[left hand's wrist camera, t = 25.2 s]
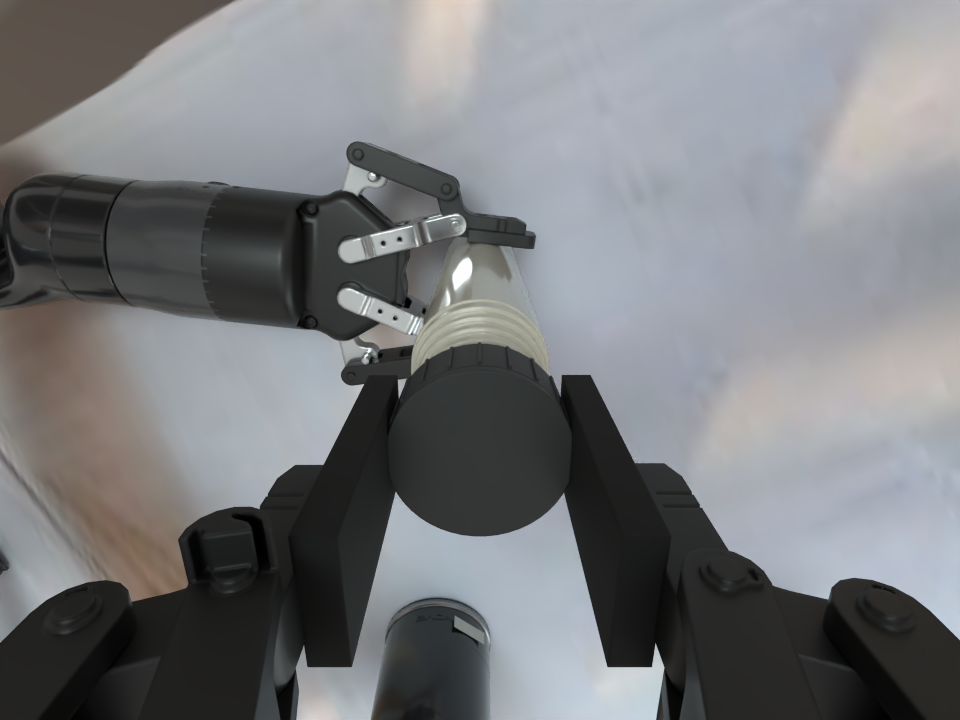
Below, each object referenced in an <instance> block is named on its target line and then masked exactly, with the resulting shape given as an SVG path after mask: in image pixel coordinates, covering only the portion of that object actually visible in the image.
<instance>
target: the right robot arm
mask: <svg viewBox="0 0 960 720" xmlns="http://www.w3.org/2000/svg"><path fill="white" fill-rule="evenodd" d="M347 158H348V160H349V165H348V169H347V172H346V176H345V180H344V183H343V187H342V190H339V191H335V192H333V193H331V194H329V195H324V196H318V195H308V194H299V193H291V192H282V191H273V190H264V189H255V188H247V187H238V186H230V185H228V184H225V183H220V182H208V183H202V182H193V181H140V180H133V179H124V178H115V177H106V176H97V175H89V174H78V173H69V172H46V173H40V174H36V175H33V176H31V177H28V178H26V179H25V180H23V181H22V182H21V183H19V184H18V185H17V186H16V187H15V188H14V189H13V191H12V192H11V194H10V195H9V197H8V199H7V201H6V205H5V208H4V207H3V205H2V203H1V201H0V311H1V310H8V309H14V308H22V307H29V306H37V305H45V304H51V303H59V302H67V301H81V302H89V303H99V304H108V305H118V306H128V307H137V308H144V309H151V310H155V311H159V312H163V313H167V314H172V315H176V316H182V317H189V318H199V319H209V320H218V321H228V322H238V323H247V324H257V325H266V326H276V327H285V328H295V329H310V330H317V331H320V332H323V333H325V334H327V335H328V336H330V337H331V338H333V339H335V340H338V341H339V343H340V347H341V351H342V355H343V359H344V363H345V367H344V369H343V371H342V373H341V378H342V380H343V381H344V382H345V383H346V384H348V385H360V384H365V382H366V380H367V378H368V376H369V375H397V377H398V379H405V378H408V376H409V377H411V358H412V351H413V347H414V345H411V346H404V347H396V348H389V349H382V350H380V349H379V347H378V346H377V345H376V344H375V343H371V342H364V341H362V340H361V339H360V338H359V337H358V336H359V335H360V334H362V333H364V332H366V331H367V330H369V329H371V328H373V327H375V326H376V325H378V324H380V323H382V324H384V325H386V326H388V327H391V328H393V329H395V330H397V331H400V332H402V333H404V334H407V335H416V336H417V335H418V332H419V329H420V326H421V324H422V321H423V318H424V315H425V312H426V309H427V305H425V303H424V302H422V301H421V300H419V299H416V298H414V297H412V296H410V295H408V294H407V291H408V281H407V276H406V271H405V270H406V266H407V264H408V261H409V258H410V249H411V248H415V247H419V246H423V245H425V244H428V243H431V242H435V241H440V240H444V239H448V238H452V237H456V236H457V237H466V238H467V242H471V243H481V244H489V245H498V246H507V247H516V248H525V249H534V246H535V239H536V235H535V234H534V232H530V231H526V224H525V222H523V221H521V220H519V219H518V218H514V217H505V216H496V215H487V214H478V213H472V212H470V211H468V210H467V209H466V208H465V206H464V204H463V201H462V197H461V193H460V189H459V188H460V185H459V182H458V180H457V179H456V178H455V177H454V176H451V175H449V174H446V173H444V172H441V171H439V170H436V169H434V168H431V167H429V166H426V165H424V164H421V163H419V162H416V161H413V160H411V159H408V158H406V157H403V156H401V155H398V154H396V153H393V152H391V151H388V150H386V149H383V148H381V147H378V146H376V145H373V144H370V143H366V142H353V143H351V144H350V145H349V147H348V148H347ZM388 179H390V180H392V181H395V182H397V183H400V184H402V185H405V186H408V187H410V188H413V189H415V190H418V191H420V192H423V193H426V194H428V195H431V196H433V197H436V198H437V199H438V203H439V207H440V210H441V213H438V214H434V215H430V216H424V217H419V218H414V219H410V220H406V221H402V222H398V223H393V222H392V221H391V220H390V219H389V218H387V217H386V216H385V215H384V214H383V213H382V212H381V211H380V210H378V209H377V208H376V207H375V206H374V205H373V204H372V203H371V202H369V201H368V200H367V199H366V198H365V197H364V196H363V195H362V192H363V191H364V189H366V188H367V187H371V188H380V187H383V186H384V185H386V183H387V182H388ZM403 304H404V305H403ZM394 316H396V317H397V318H395V317H394ZM489 652H490V634H489V630H488V627H487V625H486V623H485V622H484V620H483V619H482V618H481V617H480V616H479V614H477V613H476V612H475V611H474V610H472V609H471V608H469V607H467V606H465V605H463V604H461V603H458V602H454V601H450V600H444V599H430V600H423V601H419V602H416V603H413V604H411V605H409V606H407V607H405V608H403V609H402V610H401V611H399V612H398V613H397V614H396V615H395V616H394V617H393V619H392V620H391V622H390V624H389V626H388V629H387V633H386V638H385V649H384V654H383V659H382V665H381V669H380V674H379V679H378V684H377V689H376V695H375V700H374V705H373V710H372V715H371V720H490V669H489Z"/></svg>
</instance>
